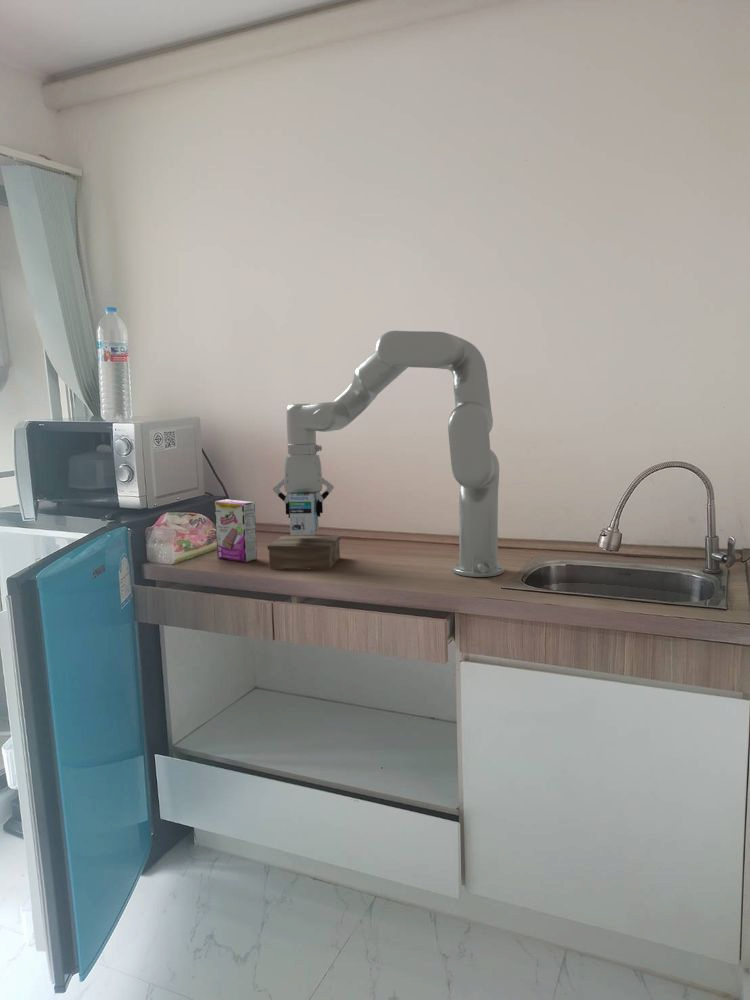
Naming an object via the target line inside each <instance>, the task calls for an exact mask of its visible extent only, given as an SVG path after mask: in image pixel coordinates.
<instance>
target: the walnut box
mask: <svg viewBox="0 0 750 1000" xmlns="http://www.w3.org/2000/svg"><path fill="white" fill-rule="evenodd" d="M340 541H341V535H286V534H285V535H281V536H279V537H278V538H277V539H275V540H274V541H273V542H271V543H269V544H268V545H267V550H268V554H269V555H268V557H269V569H270V570H271V569H272V570H285V569H284V568H289V569H288V570H291V569H290V568H303V569H302V570H323V569H329V570H331V568H332V567H333V566H334V565H335V564H336V563H337V562H338V561H339V559H340V558H341V556H340V555H341V554H340V553H341V551H340V549H341V548H340ZM336 561H337V562H336ZM335 562H336V563H335ZM334 563H335V564H334ZM333 564H334V565H333ZM304 568H306V569H304ZM307 568H308V569H307ZM309 568H310V569H309Z"/></svg>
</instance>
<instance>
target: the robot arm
mask: <svg viewBox="0 0 750 1000" xmlns="http://www.w3.org/2000/svg"><path fill="white" fill-rule="evenodd" d="M408 368H421V369H422V368H427V369H439V370H448V371H450V372H451V374H452V378H453V395H454V406H455V408H454V409H452V411H451V413H450V414H449V418H448V423H447V434H448V435H447V436H448V443H449V451H450V453H449V455H450V463H451V464H450V466H451V470H452V475H453V478H454V479H455V481H456V482H457V484H458V485H459V502H458V503H459V506H458V507H459V511H458V515H459V518H458V519H459V520H458V521H459V525H458V526H459V529H458V530H459V532H458V533H459V537H458V538H459V540H458V541H459V543H458V544H459V548H458V549H459V550H458V551H459V555H458V556H459V557H458V558H459V559H458V560H459V563H457V564H455V565H453V569H452V570H453V572H454V573H455V574H457V575H459V576H464V577H470V578H487V577H488V578H489V577H496V576H499V575H502V574H503V573H504V572H505V569H504V566H503V565H502V564H499V561H498V560H499V559H498V553H499V552H498V550H499V549H498V547H499V546H498V544H499V542H498V541H499V539H498V538H499V537H498V536H499V533H498V532H499V530H498V527H499V523H498V521H499V518H498V517H499V482H500V462H499V459H498V457H497V455H496V453H495V452H494V451H493V450H492V449H491V442H490V433H491V432H492V429H493V426H494V419H493V418H494V417H493V412H492V404H491V393H490V388H489V379H488V369H487V364H486V362H485V359H484V357H483V355H482V352H481V351H480V350H479V349H478V347H476V346H475V345H474V344H473V343H472V342H469V341H468V340H466V339H464V338H461V337H459V336H457V335H454V334H450V333H448V332H445V331H426V330H425V331H422V330H421V331H413V330H412V331H411V330H410V331H409V330H390V331H387V332H385V333H383V335H381V336H380V337H379V338H378V341H376V347H375V351H374V352H372V354H371V355H370V356H368V358H366V359H365V360H364V361H363V362H362V363H360V365H358V366H357V368H355V370H354V372H353V373H354V374H353V379H352V382H351V383H350V385H349V386H348V387H347V388H346V389H345V390H344V391H343V392H342V393H341V394H340V395H339V396H338V397H337V398H336V399H335V400H333V401H330V402H329V401H328V402H319V403H314V404H311V403H292V404H289V405H287V408H286V433H287V435H286V437H287V455H285V456H284V462H283V465H284V466H283V479H282V480H280V481H279V482H278V483H277V484H276V485H274V487H272V490H273V492H274V493H275V495H277V497H278V498H280V499H281V500H282V501H283V502H284V503H285V515H287V516H288V518H289V519H290V504H289V495H290V494H295V493H315V494H316V496H317V498H318V501H317V516H318V518H321V514H323V512H324V511H323V510H324V509H323V501H325V499H326V498H327V497H328V496H329V494H330V493H331V492H333V490H334V488H335V487H334V485H333V484H331V482H329V481H328V480H326V479H325V478H324V477H323V472H322V465H321V457H320V455H319V454H317V453H318V452H319V451H322V450H323V449H322V448H323V446H322V445H319V444H317V432H323V433H327V432H328V433H329V432H334V431H341V430H342V429H344V428H345V427H347V426H348V425H350V424H351V423H352V422H353V421H354V420H355V419H357V417H358V416H360V415H362V413H363V412H364V411H365V410H366V409H367V408H369V406H370V404H372V403H373V401H374V400H375V399H376V398H377V396H379V394H380V393H381V392H382V391H383V390H384V389H386V388H387V387H388V386H389V385H391V383H392V382H393V381H395V379H397V378H398V377H399V376H400V375H401V374H403V372H405V371H406V370H407V369H408ZM323 485H324V486H325V487H327V488H326V489H325V491H323ZM282 487H284V491H285V492H286V495H285V494H284V493H283V492H282V491H281V490H280V489H282ZM321 491H323V493H321Z"/></svg>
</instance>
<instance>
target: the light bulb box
mask: <svg viewBox="0 0 750 1000" xmlns="http://www.w3.org/2000/svg"><path fill="white" fill-rule="evenodd" d="M317 501H318V498H317V496H316V494H315V493H295V494H290V495H289V504H290V518H289V526H290V536H316V534H317V532H318V530H319V528H320V527H319V525H320V524H319V517H318V516H317Z"/></svg>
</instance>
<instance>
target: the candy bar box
mask: <svg viewBox="0 0 750 1000" xmlns="http://www.w3.org/2000/svg"><path fill="white" fill-rule="evenodd" d="M255 504H256V502H254V501H248V500H247V501H246V500H237V499H228V498H226V499H220V500H215V501H214V514H215V531H216V532H215V533H216V548H217V549H216V550H217V551H216V552H217V559H224V560H228V561H236V562H237V561H238V562H242V563H248V562H249V563H250V562H253V561H255V560H257V559H258V551H257V549H258V547H257V527H256V526H257V524H256V505H255Z"/></svg>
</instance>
